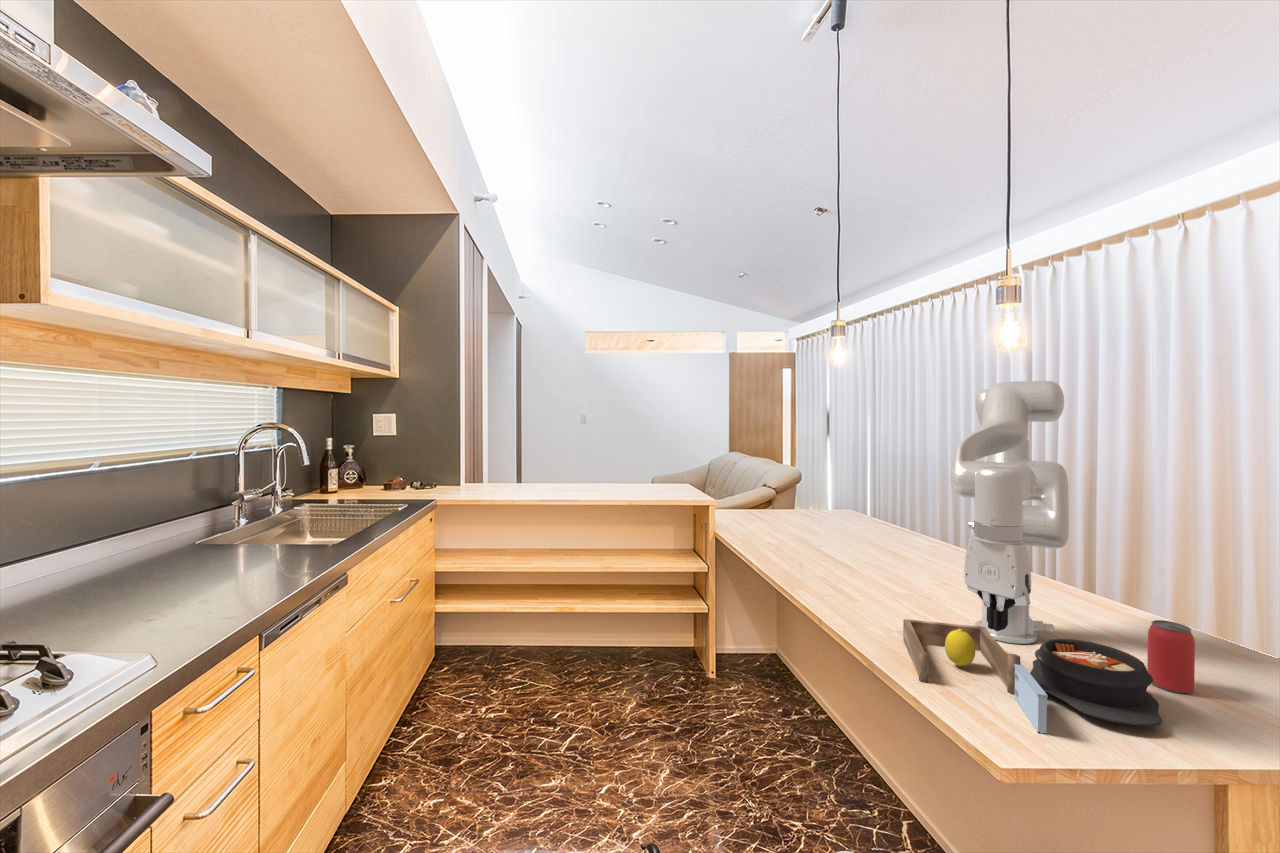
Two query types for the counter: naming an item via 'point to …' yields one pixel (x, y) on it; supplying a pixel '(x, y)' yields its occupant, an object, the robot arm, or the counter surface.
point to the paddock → (936, 636)
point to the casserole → (1097, 681)
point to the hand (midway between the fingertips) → (997, 628)
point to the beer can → (1171, 656)
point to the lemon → (960, 647)
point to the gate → (1031, 698)
